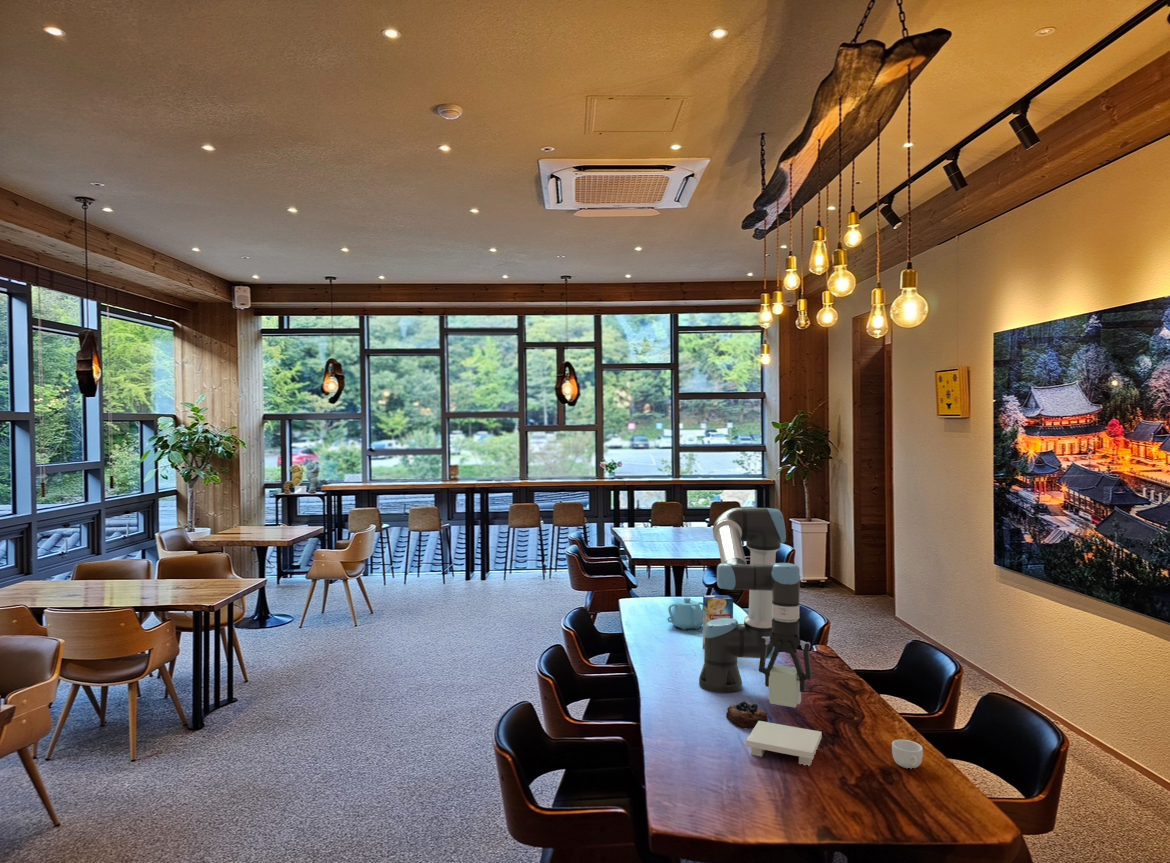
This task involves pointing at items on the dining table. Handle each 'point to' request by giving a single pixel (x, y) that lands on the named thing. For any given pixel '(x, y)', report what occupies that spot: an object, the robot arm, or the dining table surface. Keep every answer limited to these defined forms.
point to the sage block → (783, 685)
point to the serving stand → (784, 741)
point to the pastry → (745, 715)
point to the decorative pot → (686, 614)
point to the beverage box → (716, 609)
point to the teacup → (907, 753)
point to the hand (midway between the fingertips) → (784, 700)
